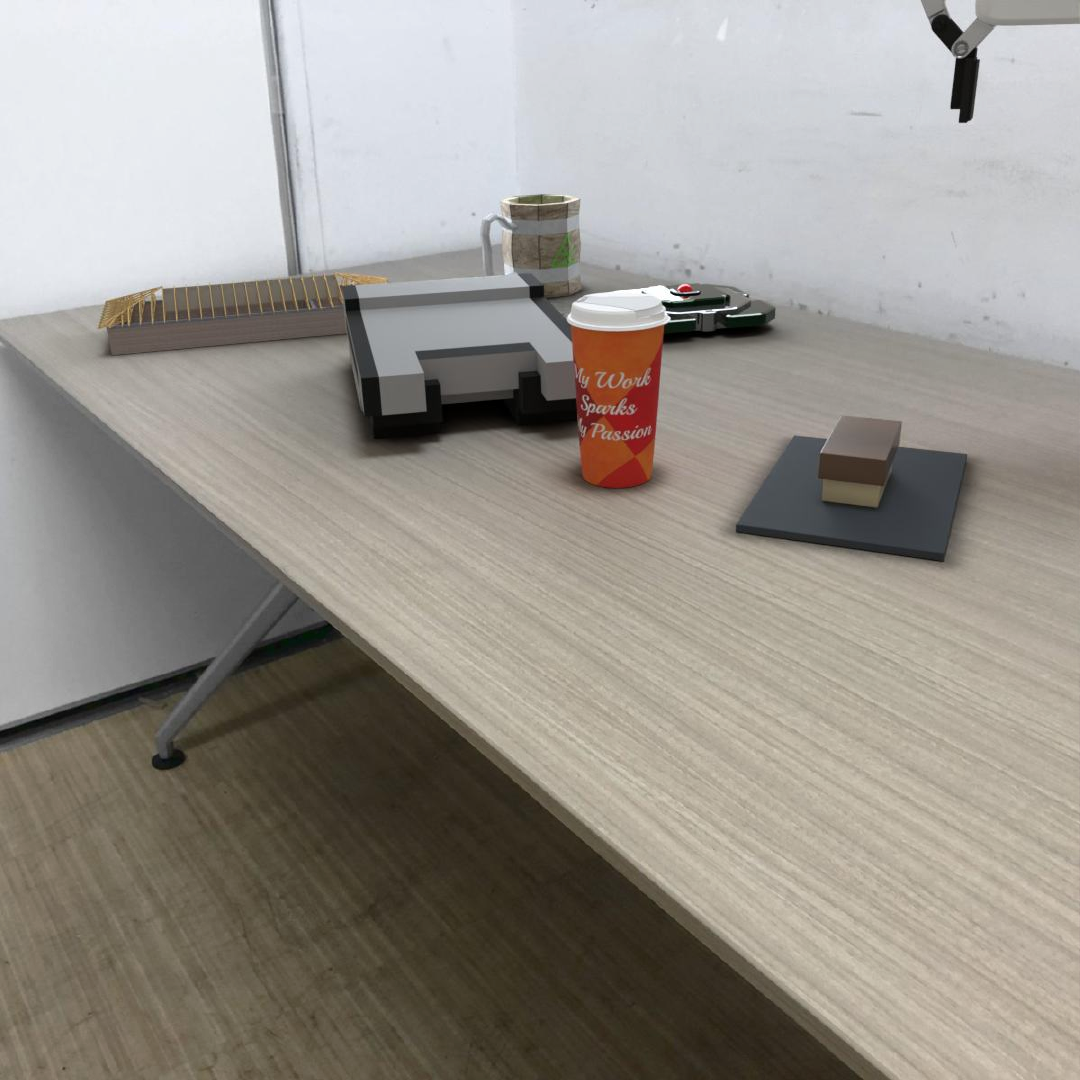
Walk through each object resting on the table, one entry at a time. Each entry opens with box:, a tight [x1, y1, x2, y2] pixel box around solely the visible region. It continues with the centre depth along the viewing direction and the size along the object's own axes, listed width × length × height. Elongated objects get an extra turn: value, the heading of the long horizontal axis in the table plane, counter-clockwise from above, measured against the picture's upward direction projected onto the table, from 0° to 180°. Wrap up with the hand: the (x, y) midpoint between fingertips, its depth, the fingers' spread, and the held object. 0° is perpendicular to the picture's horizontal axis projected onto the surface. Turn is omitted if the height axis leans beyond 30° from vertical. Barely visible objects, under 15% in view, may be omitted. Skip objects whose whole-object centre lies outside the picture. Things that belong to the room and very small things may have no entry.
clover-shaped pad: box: [612, 282, 777, 335], centre depth 134 cm, size 18×18×5 cm
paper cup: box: [566, 291, 670, 489], centre depth 86 cm, size 8×8×14 cm
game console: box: [341, 273, 578, 439], centre depth 109 cm, size 21×32×8 cm, turn 12°
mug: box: [479, 193, 583, 299], centre depth 150 cm, size 16×11×12 cm
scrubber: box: [818, 414, 903, 508], centre depth 83 cm, size 9×5×4 cm, turn 157°
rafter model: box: [96, 271, 391, 356], centre depth 136 cm, size 35×14×6 cm, turn 106°
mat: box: [735, 435, 968, 562], centre depth 84 cm, size 20×14×1 cm
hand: (1041, 121), depth 74 cm, fingers open, 9 cm apart
